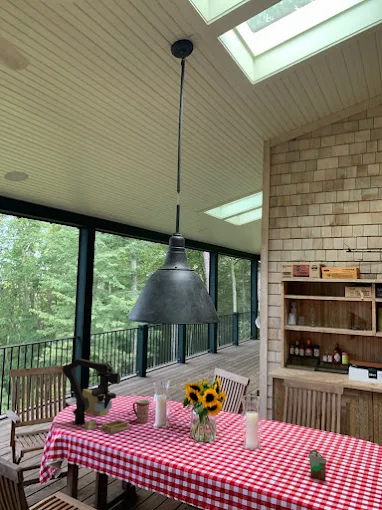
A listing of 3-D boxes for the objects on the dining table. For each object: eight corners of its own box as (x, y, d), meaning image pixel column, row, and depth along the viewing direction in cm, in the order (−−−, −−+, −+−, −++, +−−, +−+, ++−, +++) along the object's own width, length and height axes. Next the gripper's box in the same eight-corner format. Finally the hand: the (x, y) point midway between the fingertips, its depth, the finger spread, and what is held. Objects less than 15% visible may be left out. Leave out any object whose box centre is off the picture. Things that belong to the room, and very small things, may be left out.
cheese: (76, 411, 286) (77, 389, 288) (87, 408, 295) (87, 387, 296) (99, 417, 275) (100, 394, 276) (109, 413, 283) (110, 391, 284)
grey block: (94, 409, 258) (95, 401, 258) (107, 406, 265) (107, 398, 265) (98, 411, 255) (98, 403, 255) (111, 408, 262) (111, 400, 262)
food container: (304, 469, 200) (304, 448, 201) (316, 469, 200) (316, 448, 201) (314, 481, 188) (313, 459, 189) (326, 481, 188) (326, 459, 189)
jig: (97, 429, 251) (97, 424, 251) (117, 423, 263) (117, 418, 263) (111, 434, 242) (112, 429, 242) (131, 428, 254) (131, 423, 254)
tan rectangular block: (85, 428, 251) (85, 421, 252) (92, 426, 255) (92, 419, 256) (88, 430, 249) (89, 422, 249) (96, 428, 253) (96, 420, 253)
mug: (151, 421, 268) (152, 400, 269) (143, 424, 260) (143, 403, 262) (137, 417, 275) (138, 397, 276) (128, 421, 267) (129, 400, 269)
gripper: (85, 382, 261) (84, 407, 260) (103, 387, 249) (102, 413, 248) (99, 379, 270) (98, 403, 268) (117, 384, 258) (116, 409, 256)
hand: (103, 407), depth 260 cm, fingers closed on grey block, 5 cm apart
